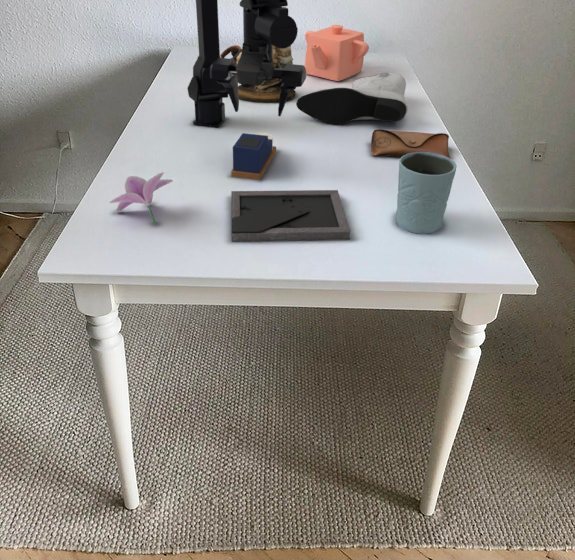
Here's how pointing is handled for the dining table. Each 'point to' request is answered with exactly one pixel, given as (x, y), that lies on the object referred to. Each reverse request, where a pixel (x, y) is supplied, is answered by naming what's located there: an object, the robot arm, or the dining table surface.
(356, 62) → the teapot
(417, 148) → the sunglasses case
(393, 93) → the cowboy boot
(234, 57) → the pottery mug
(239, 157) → the toy high-top shoe
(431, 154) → the green embossed cup
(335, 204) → the picture frame
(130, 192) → the lily
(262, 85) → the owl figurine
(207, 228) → the dining table surface
